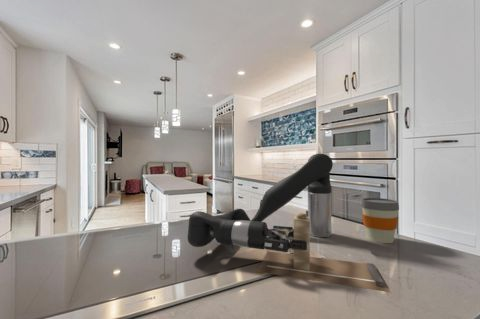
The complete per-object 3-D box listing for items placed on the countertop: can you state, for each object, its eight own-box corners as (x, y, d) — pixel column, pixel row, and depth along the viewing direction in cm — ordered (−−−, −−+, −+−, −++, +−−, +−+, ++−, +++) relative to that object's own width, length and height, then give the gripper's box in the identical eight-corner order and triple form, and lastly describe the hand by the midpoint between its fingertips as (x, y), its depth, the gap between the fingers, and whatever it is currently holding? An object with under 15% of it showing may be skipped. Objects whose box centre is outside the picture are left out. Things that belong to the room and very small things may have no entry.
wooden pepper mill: (293, 267, 62) (293, 215, 62) (295, 261, 65) (294, 212, 65) (309, 270, 60) (309, 216, 60) (309, 263, 64) (309, 213, 64)
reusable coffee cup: (356, 239, 89) (356, 200, 89) (366, 232, 98) (366, 196, 98) (395, 247, 80) (395, 204, 80) (402, 239, 89) (402, 200, 89)
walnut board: (256, 277, 60) (256, 267, 60) (267, 256, 73) (267, 248, 73) (390, 298, 50) (389, 287, 50) (374, 270, 63) (374, 261, 63)
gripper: (255, 239, 74) (308, 245, 69) (242, 256, 61) (306, 265, 56) (255, 215, 74) (308, 220, 69) (242, 227, 61) (306, 234, 56)
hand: (307, 240), depth 62 cm, fingers open, 8 cm apart
